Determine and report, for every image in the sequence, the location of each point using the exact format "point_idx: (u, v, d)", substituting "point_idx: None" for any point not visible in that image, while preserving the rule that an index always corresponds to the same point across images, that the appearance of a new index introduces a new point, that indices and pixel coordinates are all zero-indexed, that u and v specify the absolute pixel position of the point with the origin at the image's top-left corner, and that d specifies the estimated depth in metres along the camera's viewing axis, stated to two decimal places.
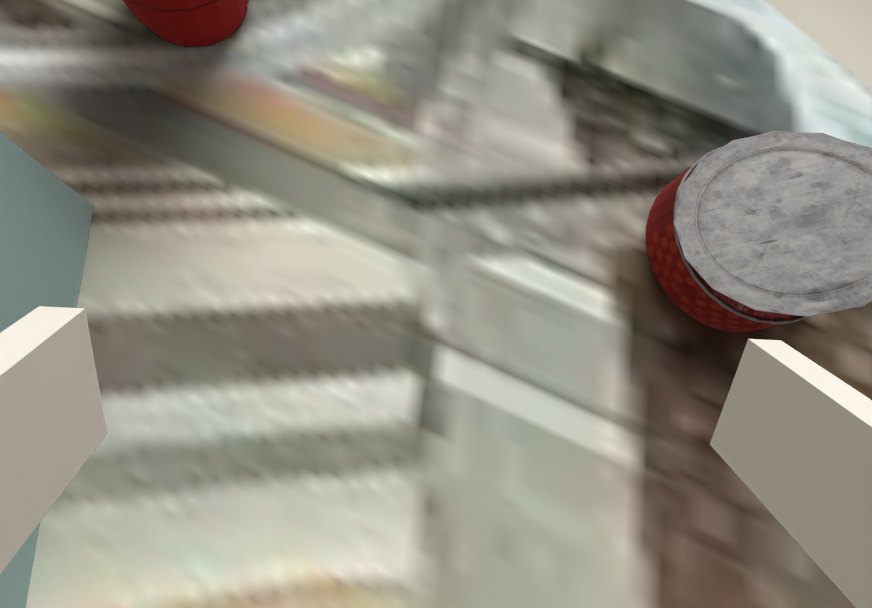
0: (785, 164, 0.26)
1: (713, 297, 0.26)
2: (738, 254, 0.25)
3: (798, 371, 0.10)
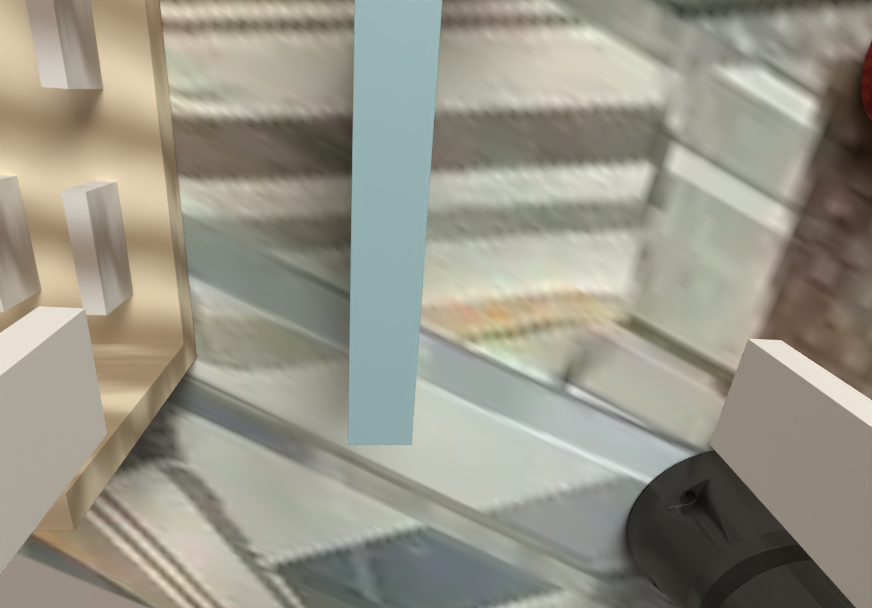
0: None
1: None
2: None
3: (797, 371, 0.10)
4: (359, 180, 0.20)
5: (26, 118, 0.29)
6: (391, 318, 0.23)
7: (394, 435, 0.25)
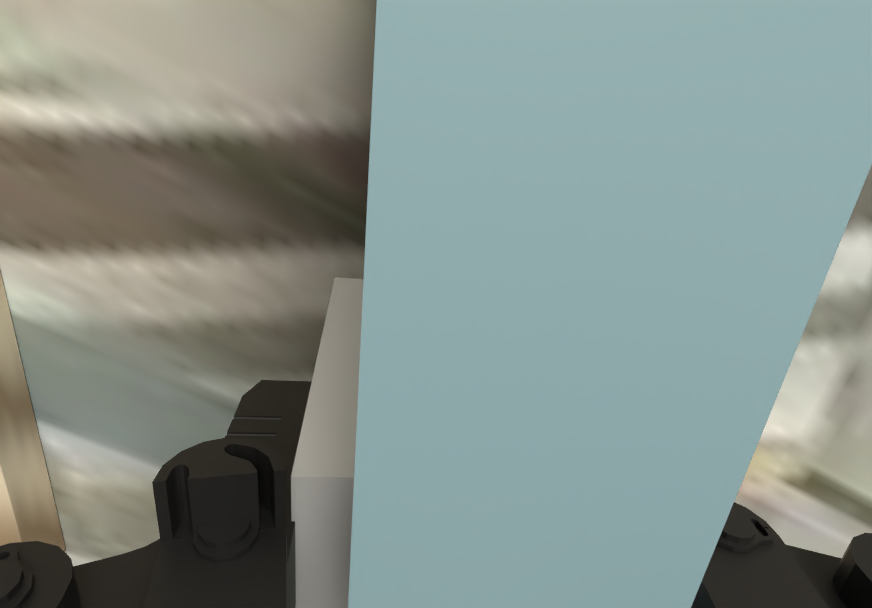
0: None
1: None
2: None
3: None
4: (387, 552, 0.04)
5: None
6: None
7: None
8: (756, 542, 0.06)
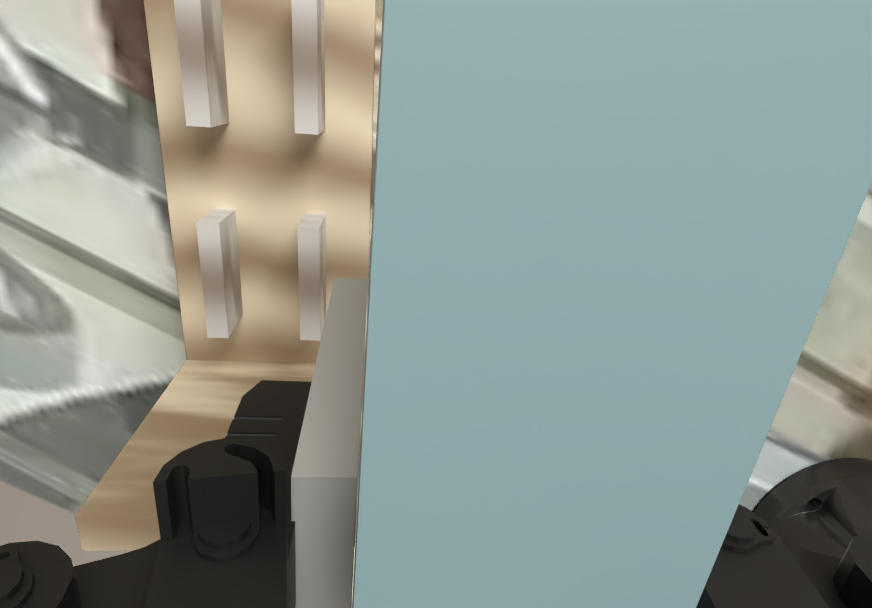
0: None
1: None
2: None
3: None
4: (394, 547, 0.04)
5: (251, 156, 0.31)
6: None
7: None
8: (756, 542, 0.06)
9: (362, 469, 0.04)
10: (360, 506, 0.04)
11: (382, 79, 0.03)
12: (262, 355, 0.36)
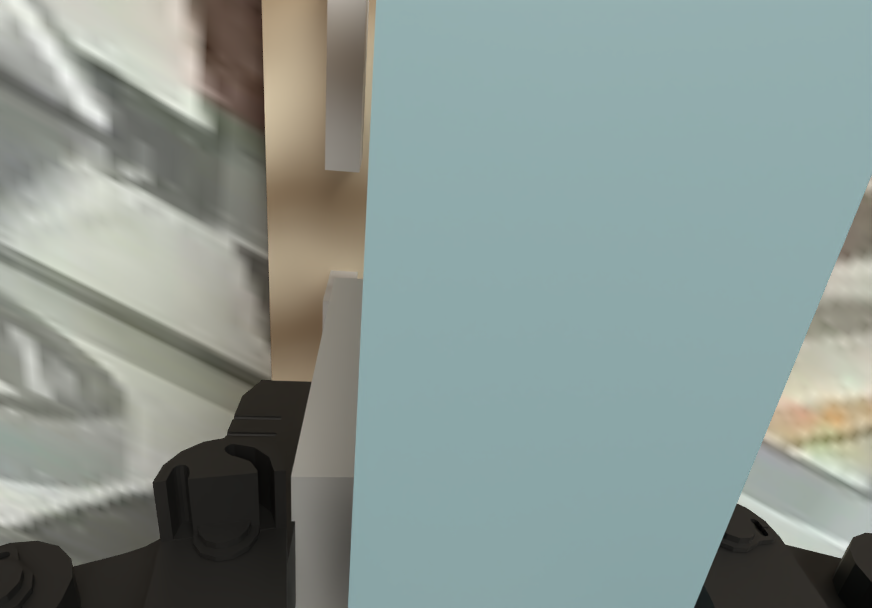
0: None
1: None
2: None
3: None
4: (388, 546, 0.04)
5: None
6: None
7: None
8: (756, 541, 0.06)
9: (356, 469, 0.04)
10: (354, 506, 0.04)
11: (373, 73, 0.03)
12: None
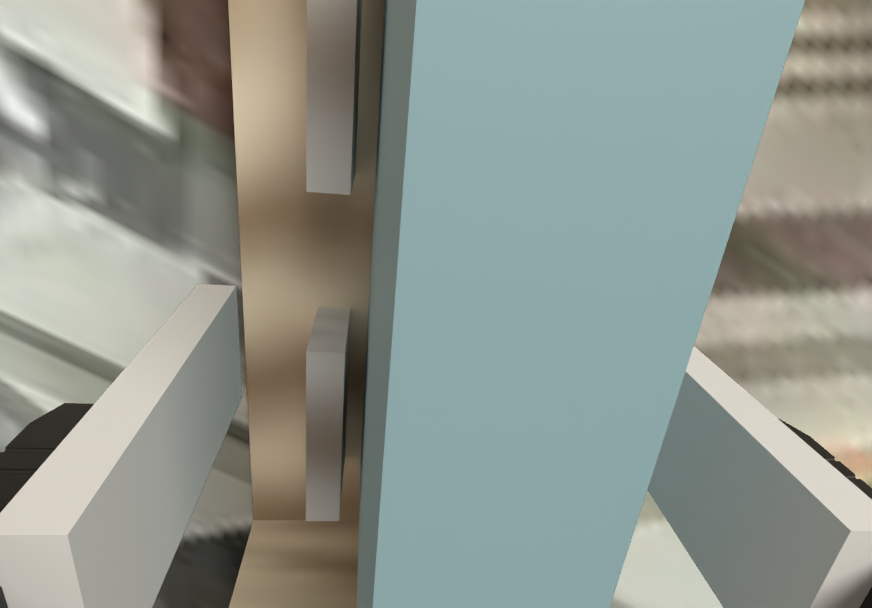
0: None
1: None
2: None
3: None
4: (412, 437, 0.05)
5: None
6: None
7: None
8: None
9: (390, 372, 0.05)
10: (388, 402, 0.05)
11: (411, 84, 0.04)
12: None
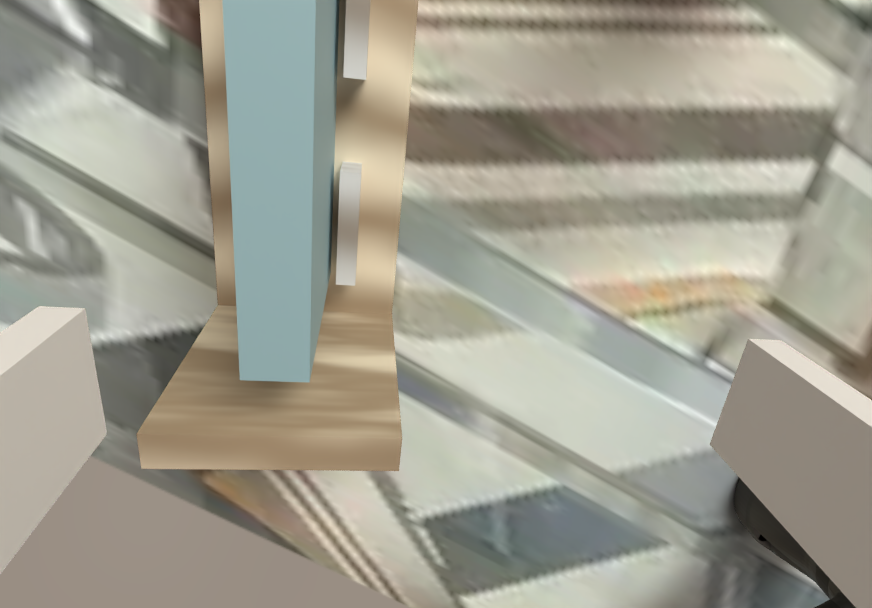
0: None
1: None
2: None
3: (797, 371, 0.10)
4: (234, 78, 0.18)
5: None
6: (279, 241, 0.21)
7: (290, 371, 0.23)
8: None
9: (225, 54, 0.18)
10: (225, 64, 0.18)
11: None
12: None
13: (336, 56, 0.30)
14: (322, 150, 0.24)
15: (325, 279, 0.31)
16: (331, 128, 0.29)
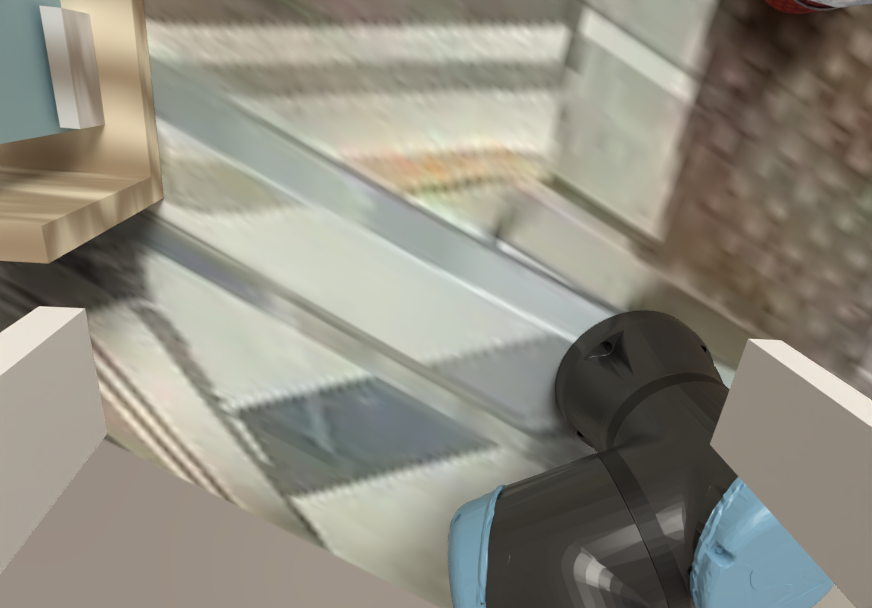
0: None
1: None
2: None
3: (798, 371, 0.10)
4: None
5: None
6: None
7: None
8: None
9: None
10: None
11: None
12: (47, 162, 0.38)
13: None
14: None
15: (32, 111, 0.32)
16: None
